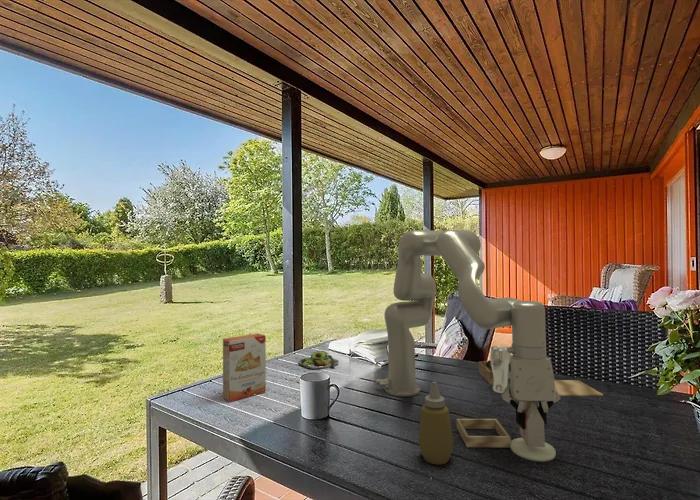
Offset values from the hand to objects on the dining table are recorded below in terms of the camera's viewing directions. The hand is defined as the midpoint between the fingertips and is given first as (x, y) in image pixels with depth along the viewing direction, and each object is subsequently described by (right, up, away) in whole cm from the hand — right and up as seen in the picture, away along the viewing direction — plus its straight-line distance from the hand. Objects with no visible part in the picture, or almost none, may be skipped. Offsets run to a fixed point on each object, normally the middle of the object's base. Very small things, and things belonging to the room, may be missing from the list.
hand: (531, 425), depth 93 cm
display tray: (+15, -7, +55) cm, 58 cm away
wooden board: (+32, -6, +42) cm, 54 cm away
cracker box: (-82, -9, +42) cm, 92 cm away
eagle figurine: (+13, -7, +55) cm, 57 cm away
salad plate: (-59, -9, +81) cm, 100 cm away
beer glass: (+9, -7, +41) cm, 43 cm away
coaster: (0, -6, 0) cm, 6 cm away
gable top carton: (0, -4, 0) cm, 4 cm away
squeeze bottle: (-24, -7, -3) cm, 25 cm away
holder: (-9, -6, +7) cm, 13 cm away
